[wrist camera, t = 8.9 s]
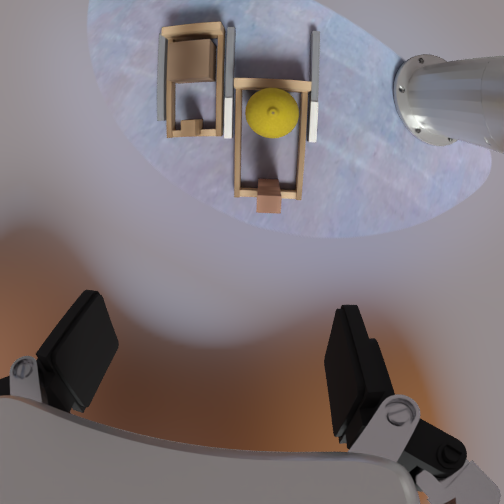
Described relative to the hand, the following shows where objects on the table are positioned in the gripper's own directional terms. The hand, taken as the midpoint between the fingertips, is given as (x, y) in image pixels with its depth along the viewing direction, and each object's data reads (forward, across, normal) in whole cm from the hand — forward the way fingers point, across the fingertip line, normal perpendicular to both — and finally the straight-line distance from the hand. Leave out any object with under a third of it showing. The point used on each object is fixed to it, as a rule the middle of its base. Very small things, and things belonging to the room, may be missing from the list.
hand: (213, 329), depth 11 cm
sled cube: (+27, +7, -12) cm, 30 cm away
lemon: (+27, -2, -8) cm, 28 cm away
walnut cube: (+27, +7, -14) cm, 31 cm away
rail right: (+27, +11, -13) cm, 32 cm away
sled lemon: (+27, -2, -4) cm, 27 cm away
